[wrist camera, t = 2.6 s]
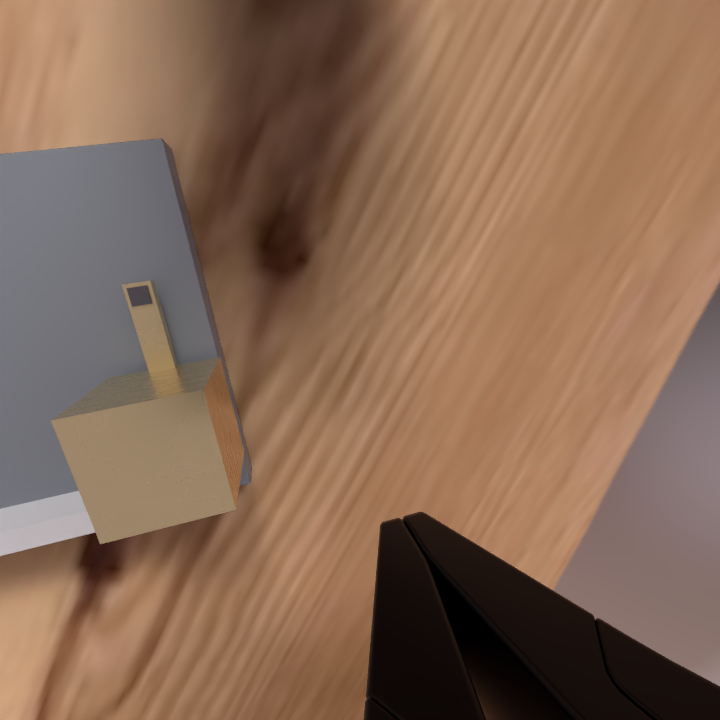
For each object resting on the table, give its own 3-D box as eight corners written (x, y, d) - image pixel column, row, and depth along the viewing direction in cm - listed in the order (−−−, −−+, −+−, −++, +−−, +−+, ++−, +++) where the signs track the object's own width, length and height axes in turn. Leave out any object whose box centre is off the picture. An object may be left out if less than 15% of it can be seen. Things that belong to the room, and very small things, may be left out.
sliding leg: (198, 273, 16) (172, 278, 12) (244, 451, 18) (236, 509, 14) (78, 291, 15) (4, 304, 11) (141, 474, 17) (100, 544, 13)
